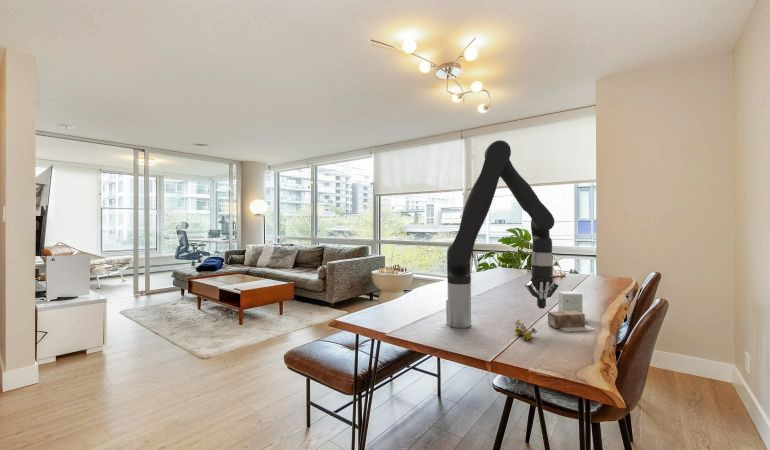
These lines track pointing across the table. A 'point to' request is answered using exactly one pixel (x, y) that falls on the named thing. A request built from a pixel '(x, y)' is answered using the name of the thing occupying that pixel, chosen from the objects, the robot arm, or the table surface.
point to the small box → (570, 301)
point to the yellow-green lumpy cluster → (524, 330)
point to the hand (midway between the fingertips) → (541, 307)
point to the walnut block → (566, 319)
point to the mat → (577, 328)
